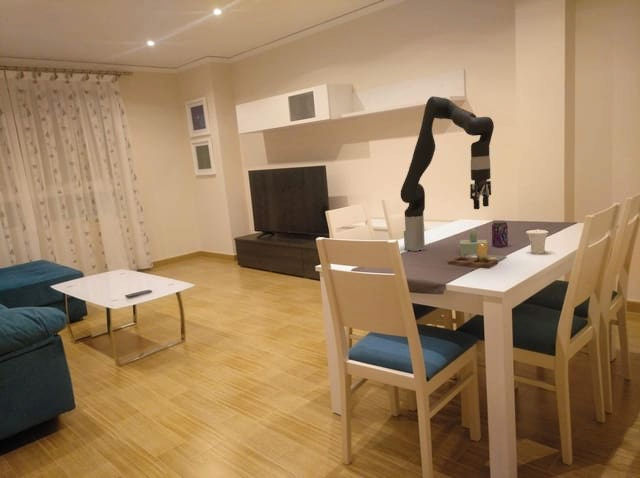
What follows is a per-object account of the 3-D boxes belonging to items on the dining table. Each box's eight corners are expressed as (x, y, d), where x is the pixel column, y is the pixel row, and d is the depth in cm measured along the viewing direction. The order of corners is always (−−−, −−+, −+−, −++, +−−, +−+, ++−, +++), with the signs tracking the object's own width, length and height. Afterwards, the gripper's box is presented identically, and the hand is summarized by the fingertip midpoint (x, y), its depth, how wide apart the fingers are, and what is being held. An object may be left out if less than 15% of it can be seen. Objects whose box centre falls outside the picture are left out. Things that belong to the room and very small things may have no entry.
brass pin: (475, 265, 193) (475, 244, 191) (480, 263, 195) (480, 242, 194) (484, 266, 190) (483, 245, 188) (489, 264, 192) (489, 243, 191)
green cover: (460, 254, 216) (459, 231, 214) (460, 250, 224) (460, 228, 222) (487, 254, 212) (487, 230, 210) (486, 250, 220) (486, 227, 218)
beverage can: (498, 248, 221) (497, 223, 219) (489, 245, 228) (488, 221, 225) (510, 246, 223) (510, 221, 220) (501, 244, 229) (501, 220, 227)
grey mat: (460, 259, 205) (460, 258, 204) (471, 254, 212) (471, 253, 212) (496, 263, 194) (496, 261, 193) (506, 257, 201) (506, 256, 201)
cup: (548, 250, 207) (549, 229, 206) (547, 255, 200) (547, 232, 198) (527, 250, 212) (527, 228, 210) (524, 254, 204) (524, 232, 202)
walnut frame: (448, 264, 198) (448, 260, 198) (458, 259, 205) (458, 256, 205) (488, 268, 186) (488, 264, 186) (498, 263, 192) (498, 260, 192)
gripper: (479, 167, 193) (480, 205, 196) (463, 169, 183) (464, 210, 186) (496, 166, 188) (497, 205, 191) (481, 168, 178) (482, 210, 181)
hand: (481, 207), depth 188 cm, fingers open, 8 cm apart
